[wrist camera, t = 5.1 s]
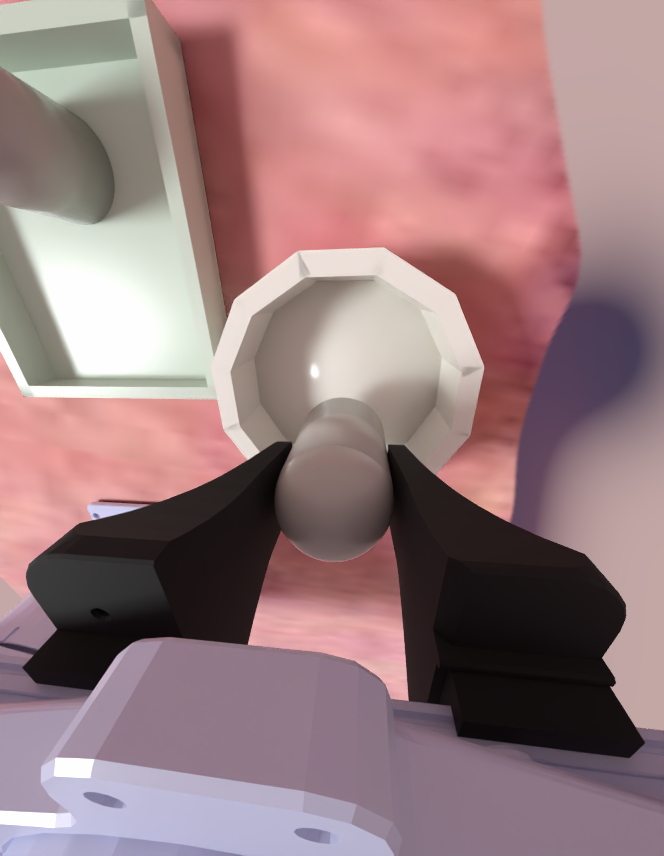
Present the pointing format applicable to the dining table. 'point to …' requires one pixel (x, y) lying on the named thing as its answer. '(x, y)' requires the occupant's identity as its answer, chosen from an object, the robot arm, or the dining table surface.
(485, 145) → the dining table surface
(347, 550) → the stone
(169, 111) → the tray
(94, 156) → the stone
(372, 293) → the bowl
